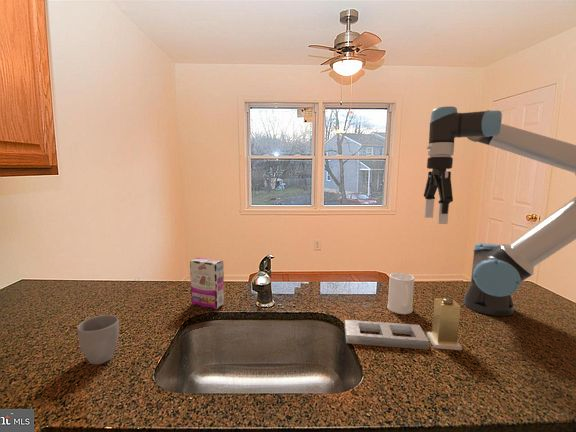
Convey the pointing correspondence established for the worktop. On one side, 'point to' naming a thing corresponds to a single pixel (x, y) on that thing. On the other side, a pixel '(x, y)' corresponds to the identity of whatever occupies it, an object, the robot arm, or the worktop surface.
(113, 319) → the mug
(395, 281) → the mug
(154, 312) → the worktop surface
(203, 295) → the candy bar box
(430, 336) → the pad
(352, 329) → the rail plate
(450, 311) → the brass block
